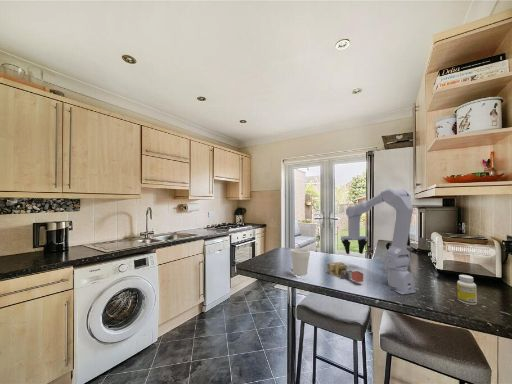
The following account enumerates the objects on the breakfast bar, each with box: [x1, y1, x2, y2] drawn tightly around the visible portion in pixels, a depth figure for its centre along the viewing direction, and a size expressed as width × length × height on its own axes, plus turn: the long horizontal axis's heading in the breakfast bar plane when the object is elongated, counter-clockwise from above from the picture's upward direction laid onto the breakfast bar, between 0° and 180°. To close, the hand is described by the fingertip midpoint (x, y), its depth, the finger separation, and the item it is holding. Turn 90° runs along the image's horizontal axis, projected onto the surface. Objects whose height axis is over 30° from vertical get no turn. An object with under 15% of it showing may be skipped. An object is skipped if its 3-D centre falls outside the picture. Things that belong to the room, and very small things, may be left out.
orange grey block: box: [343, 270, 364, 283], centre depth 101 cm, size 10×3×4 cm, turn 17°
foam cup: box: [290, 247, 311, 276], centre depth 112 cm, size 10×9×13 cm
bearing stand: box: [327, 261, 353, 280], centre depth 109 cm, size 11×10×6 cm
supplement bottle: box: [456, 274, 478, 306], centre depth 85 cm, size 5×5×10 cm
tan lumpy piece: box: [334, 263, 348, 275], centre depth 109 cm, size 3×5×5 cm, turn 107°
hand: (354, 253), depth 119 cm, fingers open, 7 cm apart
